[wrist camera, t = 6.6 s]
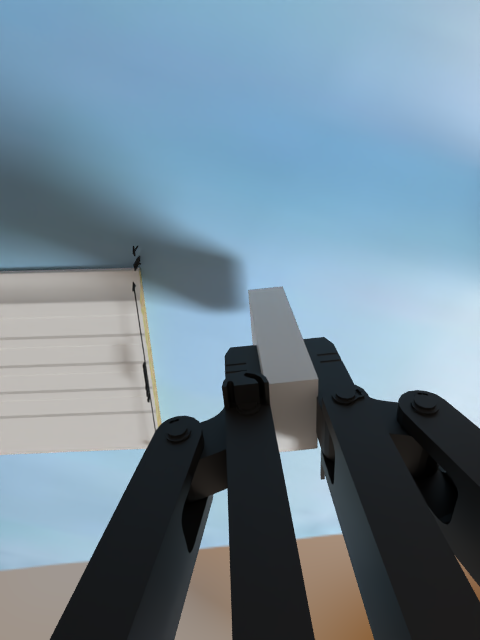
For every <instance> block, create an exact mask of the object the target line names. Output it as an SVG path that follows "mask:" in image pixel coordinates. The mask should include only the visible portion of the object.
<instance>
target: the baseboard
mask: <svg viewBox="0 0 480 640" xmlns="http://www.w3.org/2000/svg"><path fill="white" fill-rule="evenodd" d="M137 248H138V246H137V247H136V248H135V249H134V246H133V254H134V256H135V251H136V249H137ZM139 264H140V265H141V263H140V256H139V257H138V258H137V259H136V261H135V263H134V268H107V269H64V270H21V271H0V455H8V454H32V453H55V452H79V451H102V450H125V449H147V447H148V445H149V443H150V441H151V439H152V437H153V435H154V433H155V431H156V430H157V428H158V427H159V426H160V425H161V417H160V410H159V402H158V395H157V388H156V381H155V373H154V366H153V359H152V351H151V344H150V337H149V329H148V322H147V315H146V307H145V300H144V293H143V286H142V278H141V271H140V268H138V265H139Z"/></svg>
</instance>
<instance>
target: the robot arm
mask: <svg viewBox="0 0 480 640" xmlns="http://www.w3.org/2000/svg"><path fill="white" fill-rule="evenodd" d="M248 293H249V305H250V317H251V329H252V341H253V345H252V346H242V347H232V348H230V349H229V350H228V352H227V353H226V355H225V380H224V381H223V385H222V391H223V398H224V406H225V407H224V409H223V410H222V411H221V412H220V413H219V414H218V415H216V416H215V417H213V418H211V419H209V420H207V421H204V422H201V423H199V421H197V420H196V419H195V418H193V417H188V416H176V417H174V418H171V419H168V420H166V421H165V422H163V423H162V424H161V425H160V426H159V427H158V428H157V430H156V431H155V433H154V435H153V437H152V439H151V441H150V443H149V445H148V447H147V449H146V451H145V453H144V455H143V457H142V459H141V461H140V462H139V464H138V466H137V468H136V470H135V472H134V474H133V476H132V478H131V480H130V482H129V484H128V486H127V488H126V490H125V492H124V494H123V496H122V498H121V500H120V502H119V504H118V506H117V508H116V510H115V512H114V514H113V516H112V518H111V520H110V522H109V524H108V526H107V528H106V530H105V532H104V534H103V536H102V538H101V539H100V541H99V543H98V545H97V547H96V549H95V551H94V553H93V555H92V557H91V559H90V561H89V563H88V565H87V567H86V569H85V571H84V573H83V575H82V577H81V579H80V581H79V583H78V585H77V587H76V589H75V591H74V593H73V595H72V597H71V599H70V601H69V603H68V605H67V607H66V609H65V611H64V613H63V615H62V616H61V619H60V620H59V622H58V625H57V626H56V628H55V630H54V633H53V634H52V636H51V638H50V640H174V639H175V635H176V631H177V628H178V624H179V620H180V617H181V613H182V609H183V605H184V602H185V598H186V594H187V591H188V587H189V584H190V580H191V576H192V573H193V569H194V565H195V562H196V558H197V554H198V551H199V547H200V543H201V540H202V536H203V532H204V529H205V525H206V522H207V518H208V514H209V511H210V507H211V503H212V500H213V494H215V493H217V492H219V491H222V490H224V489H227V488H228V516H229V546H230V576H231V605H232V606H231V607H232V638H233V640H315V638H314V633H313V628H312V622H311V617H310V612H309V606H308V601H307V596H306V591H305V585H304V580H303V575H302V569H301V565H300V559H299V554H298V548H297V543H296V538H295V533H294V527H293V522H292V517H291V512H290V506H289V501H288V496H287V490H286V485H285V480H284V475H283V469H282V464H281V459H280V454H279V452H286V451H296V450H305V449H315V448H317V438H318V440H319V443H320V446H321V479H325V476H326V480H327V483H328V486H329V490H330V493H331V496H332V500H333V503H334V506H335V510H336V513H337V516H338V520H339V523H340V527H341V530H342V533H343V536H344V540H345V543H346V546H347V550H348V553H349V557H350V560H351V563H352V567H353V570H354V573H355V577H356V580H357V583H358V587H359V590H360V593H361V597H362V600H363V603H364V607H365V610H366V614H367V616H368V620H369V624H370V627H371V630H372V634H373V637H374V640H480V602H479V600H478V598H477V596H476V594H475V592H474V591H473V589H472V587H471V585H470V583H469V581H468V579H467V578H466V576H465V574H464V572H463V570H462V568H461V567H460V565H459V563H458V561H457V559H458V560H459V561H460V562H461V564H462V565H463V566H464V567H465V569H466V570H467V571H468V572H469V573H470V575H471V576H472V577H473V579H474V580H475V581H476V582H477V584H478V585H479V586H480V428H478V427H477V426H476V425H475V424H473V423H472V422H471V421H470V420H469V419H467V418H466V417H465V416H464V415H463V414H461V413H460V412H459V411H458V410H456V409H455V408H454V407H453V406H452V405H450V404H449V403H448V402H447V401H446V400H444V399H443V398H441V397H439V396H438V395H436V394H433V393H430V392H427V391H419V390H416V391H408V392H406V393H404V394H402V395H401V397H400V398H399V401H398V403H397V402H389V401H381V400H376V399H373V398H370V397H369V396H368V394H367V393H366V392H365V391H364V389H362V388H360V387H359V386H357V385H354V383H353V381H352V379H351V377H350V375H349V373H348V371H347V369H346V367H345V366H344V364H343V362H342V361H341V358H340V356H339V354H338V352H337V350H336V348H335V346H334V344H333V343H331V342H330V341H329V340H327V339H326V338H325V337H320V338H311V339H303V338H302V335H301V333H300V330H299V328H298V325H297V322H296V320H295V317H294V315H293V312H292V309H291V307H290V304H289V302H288V299H287V297H286V294H285V291H284V289H283V287H273V288H263V289H253V290H248ZM455 556H456V557H457V559H456V557H455Z"/></svg>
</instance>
